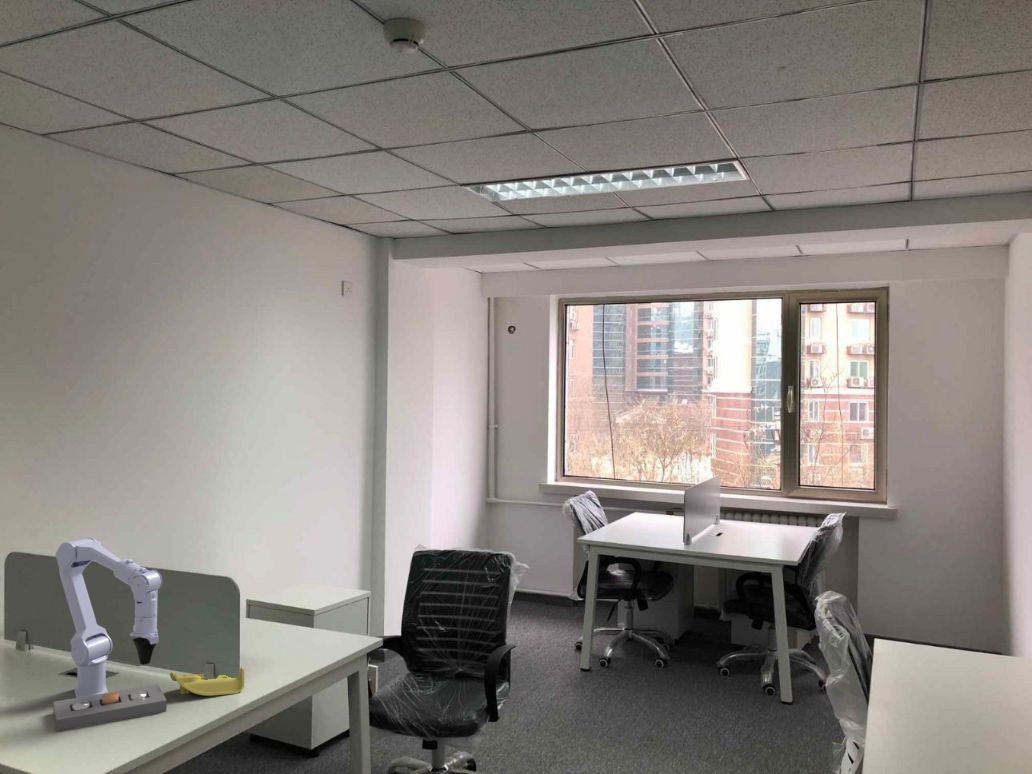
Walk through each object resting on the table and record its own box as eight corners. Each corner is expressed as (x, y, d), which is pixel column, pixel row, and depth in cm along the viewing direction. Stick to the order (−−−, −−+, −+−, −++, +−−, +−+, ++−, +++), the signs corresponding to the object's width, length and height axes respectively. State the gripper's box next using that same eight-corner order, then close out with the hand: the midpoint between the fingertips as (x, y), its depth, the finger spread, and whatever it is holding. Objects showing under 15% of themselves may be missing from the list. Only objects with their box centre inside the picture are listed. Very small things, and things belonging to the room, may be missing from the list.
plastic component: (238, 671, 242) (244, 666, 235) (238, 697, 239) (244, 692, 231) (167, 676, 233) (172, 671, 225) (166, 703, 230) (170, 698, 222)
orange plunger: (101, 702, 216) (101, 693, 216) (117, 699, 219) (117, 690, 219) (102, 707, 213) (103, 698, 213) (119, 704, 215) (119, 695, 215)
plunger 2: (129, 701, 220) (129, 693, 220) (145, 699, 222) (145, 690, 222) (131, 706, 217) (131, 697, 217) (147, 703, 219) (147, 695, 219)
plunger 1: (71, 712, 213) (71, 703, 213) (88, 709, 215) (88, 700, 215) (72, 717, 209) (73, 708, 209) (90, 714, 211) (90, 705, 211)
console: (53, 712, 215) (53, 701, 215) (157, 694, 229) (157, 684, 229) (56, 731, 203) (56, 720, 203) (166, 711, 217) (166, 700, 217)
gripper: (122, 612, 227) (121, 660, 227) (140, 623, 216) (138, 673, 216) (148, 608, 232) (147, 654, 232) (166, 618, 221) (165, 667, 221)
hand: (144, 663), depth 224 cm, fingers closed
